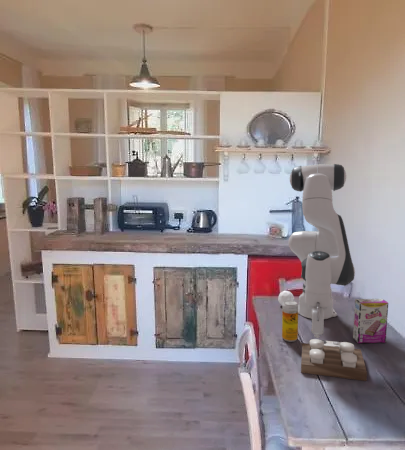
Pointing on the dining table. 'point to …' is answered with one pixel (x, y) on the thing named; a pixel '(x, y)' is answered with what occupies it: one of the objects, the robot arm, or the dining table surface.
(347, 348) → the button
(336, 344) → the pattern plaque
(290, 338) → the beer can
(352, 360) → the button
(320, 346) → the button
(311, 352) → the button
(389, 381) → the dining table surface
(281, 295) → the geometric ball
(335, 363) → the button board
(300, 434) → the dining table surface
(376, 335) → the candy bar box
